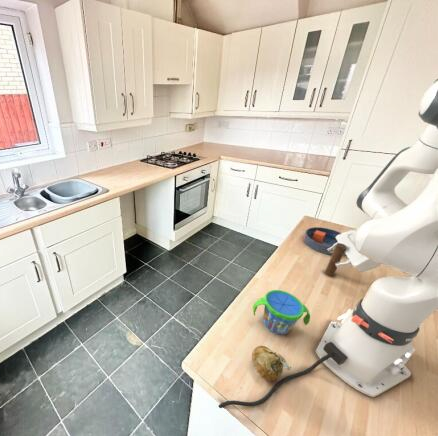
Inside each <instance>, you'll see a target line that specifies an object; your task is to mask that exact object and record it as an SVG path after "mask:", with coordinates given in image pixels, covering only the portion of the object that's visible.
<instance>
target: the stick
mask: <svg viewBox="0 0 438 436" xmlns="http://www.w3.org/2000/svg"><path fill="white" fill-rule="evenodd" d="M345 249H346V245H344V244H341V243H337V245H336V247H335V249H334V252H333V254H332V256H331V255H330V256H331V257H330V259H329V261H328V264H327V266H326V267H325V268H326V269H325V271H324V274H325V275H326V276H327V277H334V275H335V274H336V271H337V269H338V268H337V267H336V265H335V263H337V262H339V261H340V262H341V260H342V258H343V254H344V251H345Z"/></svg>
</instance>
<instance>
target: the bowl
mask: <svg viewBox="0 0 438 436" xmlns="http://www.w3.org/2000/svg"><path fill="white" fill-rule="evenodd" d="M316 230H318V231H321V232H324V233H326V234H325V237H324V239H323V241H322V243H319V242H316V241H314V240H312V238H313V235H314V233H315V231H316ZM341 233H342V232H340V231H337V230H335V229H331V228H326V227H320V226H315V227H309V228H307V229H306V230H305V232H304V235H303V237H302V240H303V243H304V244H305V245H306V247H308V248H309V249H311V250H313V251H315V252H316V253H320V254H323V255H326V256H332V254H333V253H332V254H330V253H329V252H328V250H327V249H328V248H331V247H332V246H333V245H334V244H335V243H337V242H338V241H337V240H336V238H335V237H336V236H337V235H339V234H341ZM343 256H347V255H346V254H345V252H344V254H343ZM343 256H342V257H343Z"/></svg>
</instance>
